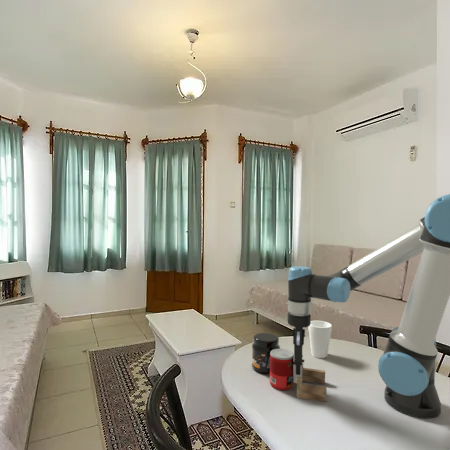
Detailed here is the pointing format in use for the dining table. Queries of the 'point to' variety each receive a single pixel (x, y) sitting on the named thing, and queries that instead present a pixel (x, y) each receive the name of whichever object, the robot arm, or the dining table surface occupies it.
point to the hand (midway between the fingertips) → (297, 382)
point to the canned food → (281, 369)
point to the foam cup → (319, 338)
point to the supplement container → (263, 351)
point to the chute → (311, 390)
